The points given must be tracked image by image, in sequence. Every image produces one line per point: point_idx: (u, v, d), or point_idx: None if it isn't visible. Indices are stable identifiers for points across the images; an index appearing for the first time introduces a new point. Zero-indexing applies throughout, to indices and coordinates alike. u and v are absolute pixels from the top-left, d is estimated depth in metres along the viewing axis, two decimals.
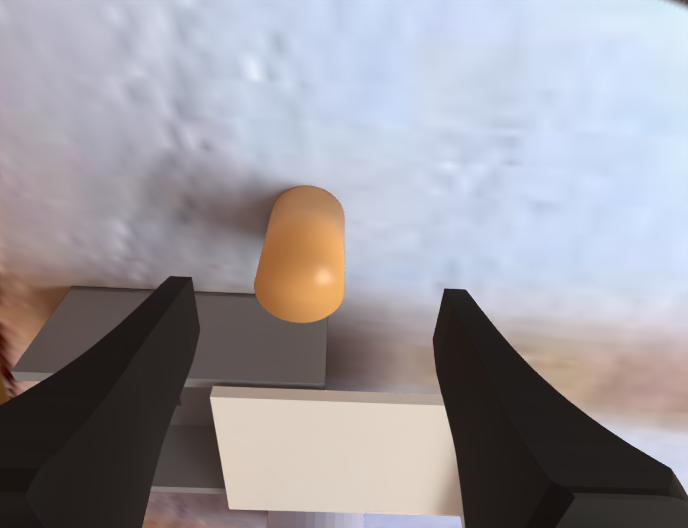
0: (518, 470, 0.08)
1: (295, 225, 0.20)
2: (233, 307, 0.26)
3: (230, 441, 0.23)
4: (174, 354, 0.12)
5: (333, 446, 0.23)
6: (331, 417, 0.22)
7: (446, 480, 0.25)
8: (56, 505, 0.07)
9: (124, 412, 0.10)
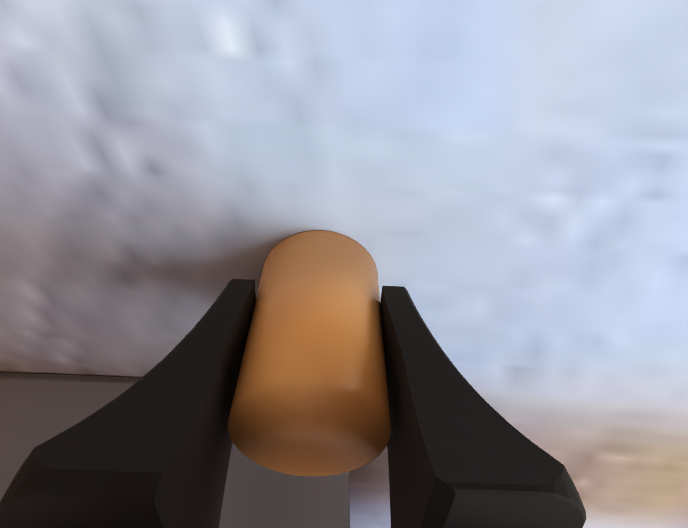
0: (419, 467, 0.08)
1: (302, 310, 0.11)
2: None
3: None
4: (242, 357, 0.12)
5: None
6: None
7: None
8: (171, 509, 0.07)
9: (211, 415, 0.10)
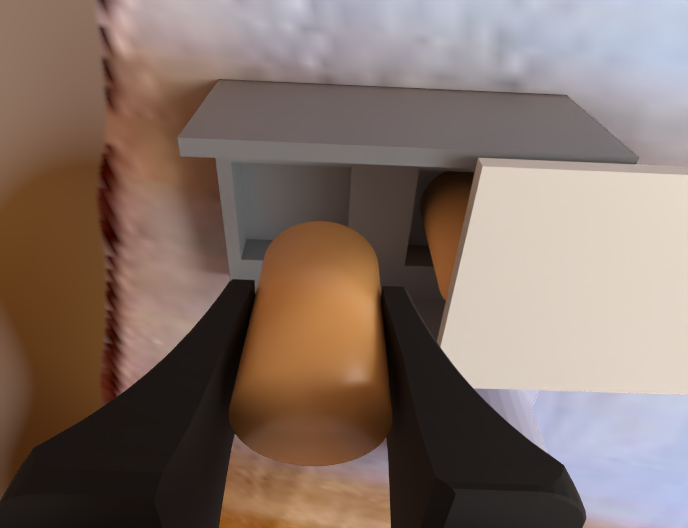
0: (419, 467, 0.08)
1: (309, 298, 0.11)
2: (448, 98, 0.19)
3: (479, 259, 0.16)
4: None
5: (626, 266, 0.16)
6: (648, 207, 0.15)
7: None
8: (171, 508, 0.07)
9: (210, 415, 0.10)
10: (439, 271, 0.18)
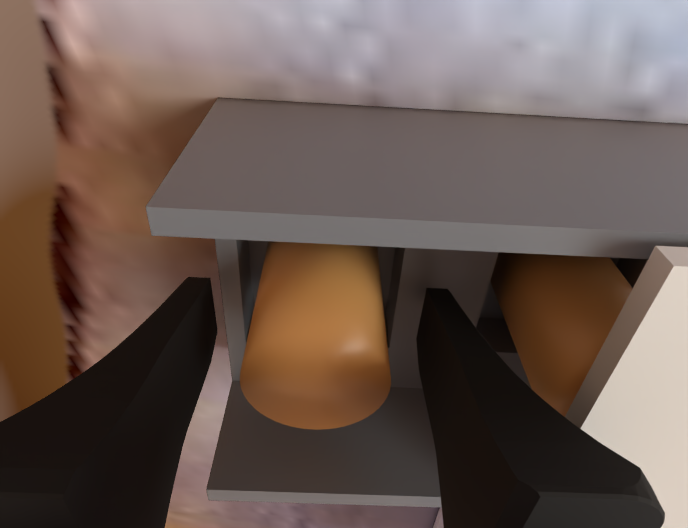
0: (489, 469, 0.08)
1: (313, 272, 0.12)
2: (554, 131, 0.13)
3: (628, 394, 0.10)
4: (194, 355, 0.12)
5: None
6: None
7: None
8: (90, 506, 0.07)
9: (149, 413, 0.10)
10: (546, 391, 0.12)
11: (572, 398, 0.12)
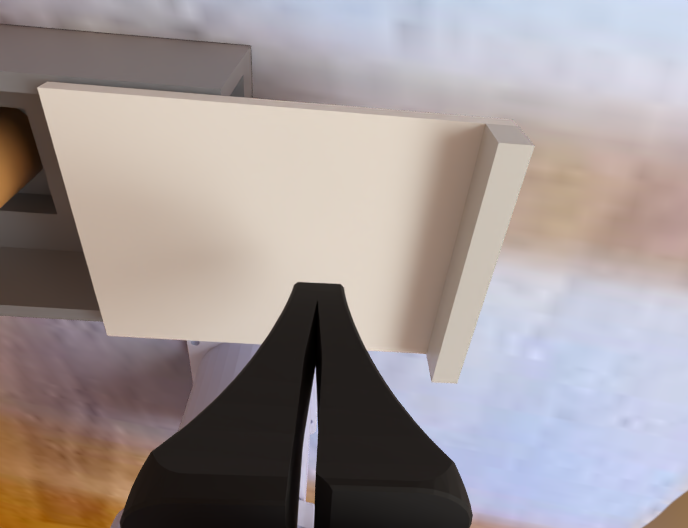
0: None
1: None
2: (112, 40, 0.18)
3: (86, 193, 0.16)
4: (311, 359, 0.12)
5: (239, 205, 0.16)
6: (229, 140, 0.15)
7: (405, 281, 0.18)
8: (288, 512, 0.07)
9: (299, 418, 0.10)
10: None
11: None
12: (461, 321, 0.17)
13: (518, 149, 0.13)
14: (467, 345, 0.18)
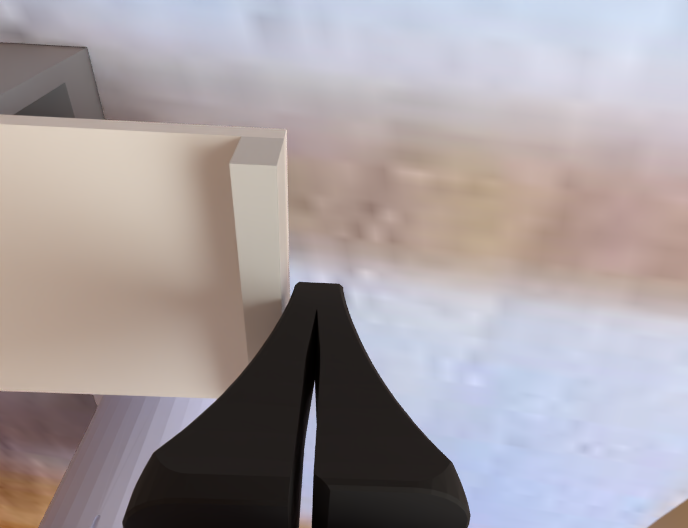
0: None
1: None
2: None
3: None
4: (313, 359, 0.12)
5: None
6: None
7: (208, 323, 0.15)
8: (290, 512, 0.07)
9: (301, 418, 0.10)
10: None
11: None
12: None
13: (258, 171, 0.10)
14: None
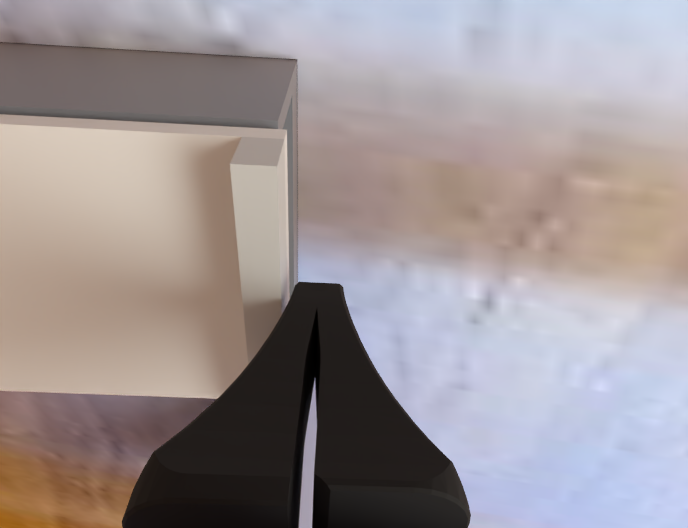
0: None
1: None
2: (140, 59, 0.16)
3: None
4: (313, 360, 0.12)
5: None
6: None
7: (208, 323, 0.15)
8: (290, 512, 0.07)
9: (301, 418, 0.10)
10: None
11: None
12: None
13: (259, 171, 0.10)
14: None
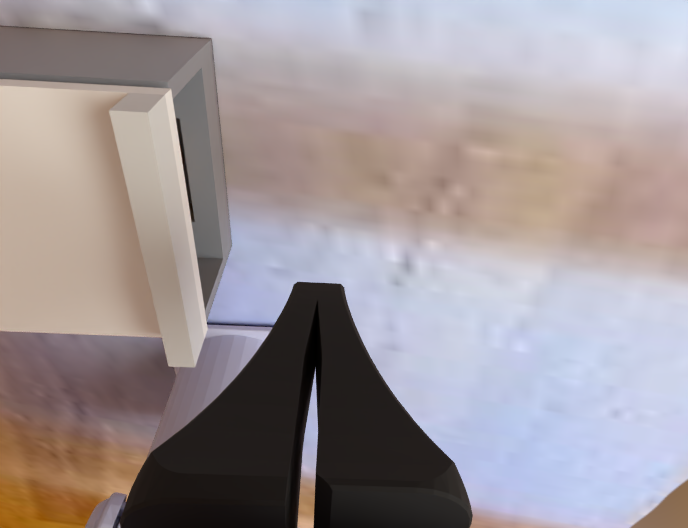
0: None
1: None
2: (70, 37, 0.18)
3: None
4: (311, 360, 0.12)
5: None
6: None
7: (123, 263, 0.17)
8: (288, 512, 0.07)
9: (299, 418, 0.10)
10: None
11: None
12: (166, 302, 0.17)
13: (133, 117, 0.13)
14: (189, 327, 0.17)
